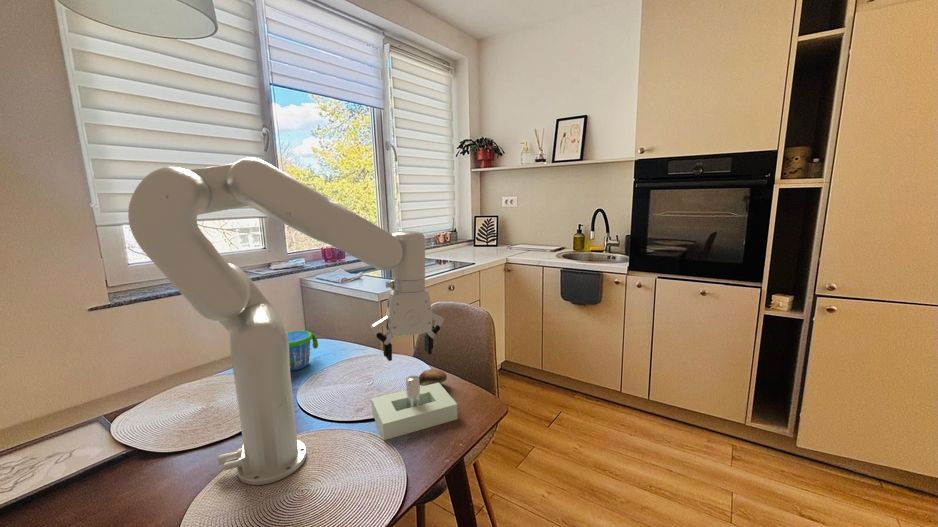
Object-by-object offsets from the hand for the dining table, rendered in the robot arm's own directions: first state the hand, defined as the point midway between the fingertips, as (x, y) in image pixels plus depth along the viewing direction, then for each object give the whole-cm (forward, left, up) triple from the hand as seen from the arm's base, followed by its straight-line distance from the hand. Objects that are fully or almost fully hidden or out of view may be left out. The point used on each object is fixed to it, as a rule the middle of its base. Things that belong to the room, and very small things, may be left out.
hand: (408, 355), depth 91 cm
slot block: (+1, 0, -16) cm, 16 cm away
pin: (+1, 0, -16) cm, 16 cm away
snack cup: (-24, +44, -16) cm, 53 cm away
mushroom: (+10, +11, -16) cm, 22 cm away
